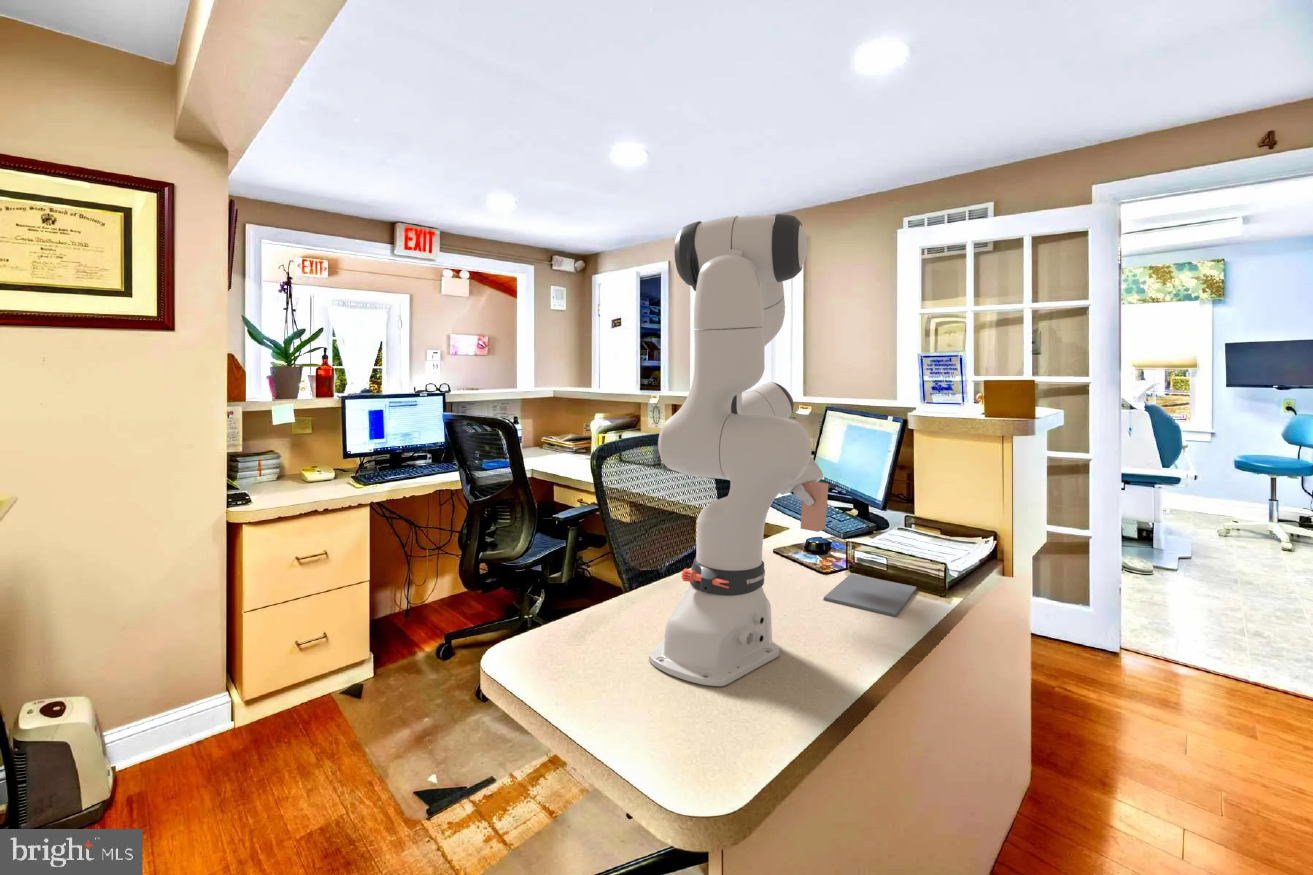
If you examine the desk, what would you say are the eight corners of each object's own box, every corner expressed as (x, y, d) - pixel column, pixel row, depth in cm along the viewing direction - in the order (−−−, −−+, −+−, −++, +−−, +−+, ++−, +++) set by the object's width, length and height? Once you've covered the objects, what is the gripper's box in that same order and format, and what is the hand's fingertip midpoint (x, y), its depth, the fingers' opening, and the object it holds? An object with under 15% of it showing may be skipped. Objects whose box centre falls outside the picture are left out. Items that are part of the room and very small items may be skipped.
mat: (896, 616, 108) (896, 613, 108) (823, 599, 116) (823, 596, 116) (916, 589, 122) (916, 586, 122) (850, 576, 130) (850, 573, 130)
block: (818, 531, 122) (821, 486, 121) (800, 528, 125) (803, 483, 124) (825, 528, 126) (828, 483, 125) (807, 524, 128) (810, 481, 127)
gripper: (768, 447, 119) (810, 500, 114) (805, 442, 136) (843, 488, 131) (748, 466, 122) (788, 518, 117) (786, 458, 139) (822, 504, 134)
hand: (817, 502), depth 124 cm, fingers closed on block, 4 cm apart
